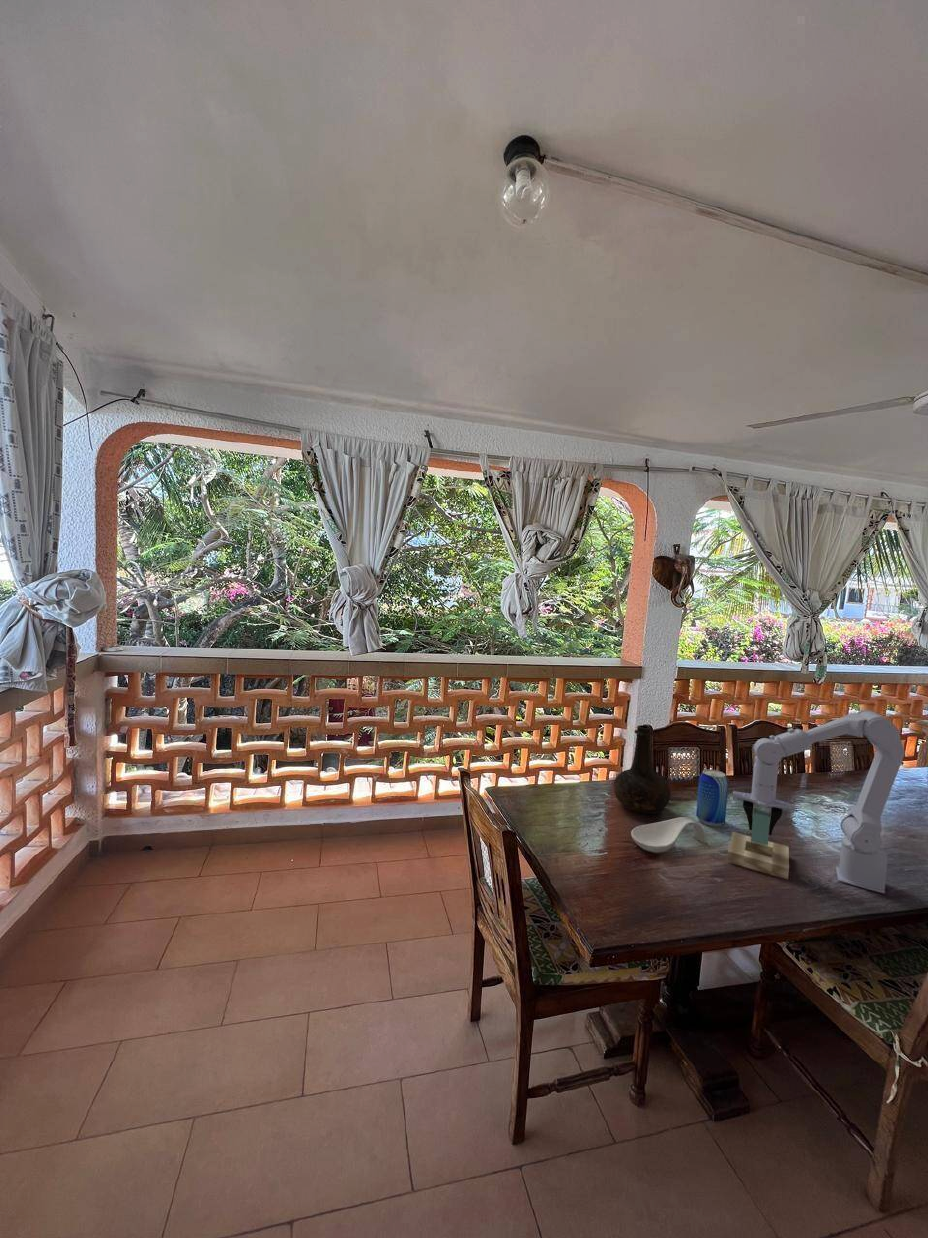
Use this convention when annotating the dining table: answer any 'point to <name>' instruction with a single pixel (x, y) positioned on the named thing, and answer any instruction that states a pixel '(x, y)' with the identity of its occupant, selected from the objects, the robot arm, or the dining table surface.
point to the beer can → (712, 798)
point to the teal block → (760, 826)
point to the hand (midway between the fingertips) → (760, 831)
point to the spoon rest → (665, 834)
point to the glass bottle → (642, 780)
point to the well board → (759, 855)
